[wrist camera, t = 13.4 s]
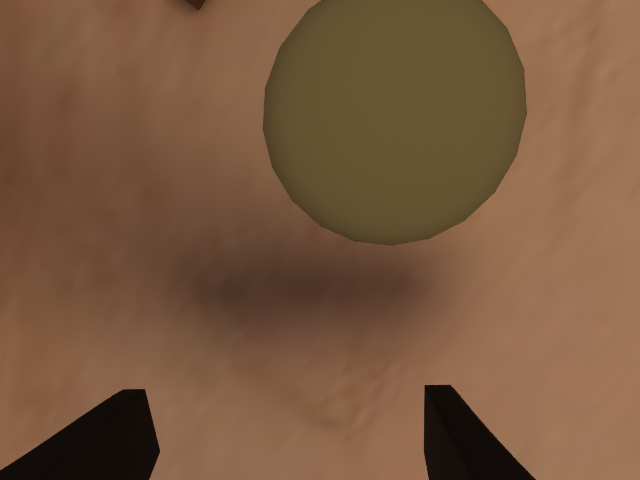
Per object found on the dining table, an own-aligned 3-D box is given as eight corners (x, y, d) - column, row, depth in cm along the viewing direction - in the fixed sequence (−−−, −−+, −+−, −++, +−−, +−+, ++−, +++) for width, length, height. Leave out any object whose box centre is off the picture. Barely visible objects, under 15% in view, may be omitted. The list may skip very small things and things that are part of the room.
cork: (347, 18, 16) (348, -203, 5) (464, 101, 16) (680, 57, 6) (274, 144, 17) (161, 174, 7) (382, 215, 18) (432, 343, 7)
